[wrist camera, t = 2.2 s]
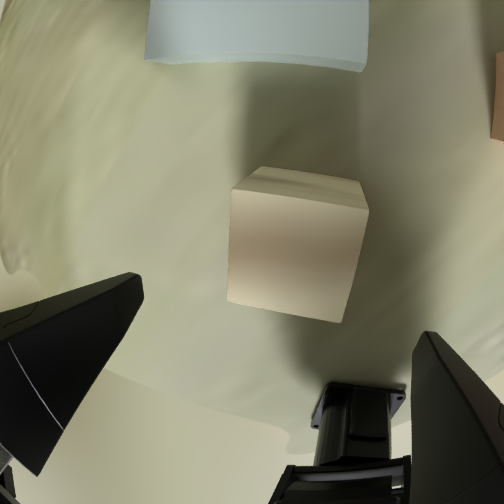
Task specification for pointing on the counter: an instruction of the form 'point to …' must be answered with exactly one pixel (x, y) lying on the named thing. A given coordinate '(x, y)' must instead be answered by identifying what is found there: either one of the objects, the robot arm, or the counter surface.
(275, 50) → the blue-grey slab
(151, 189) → the counter surface
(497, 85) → the terracotta cube
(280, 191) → the birch cube
